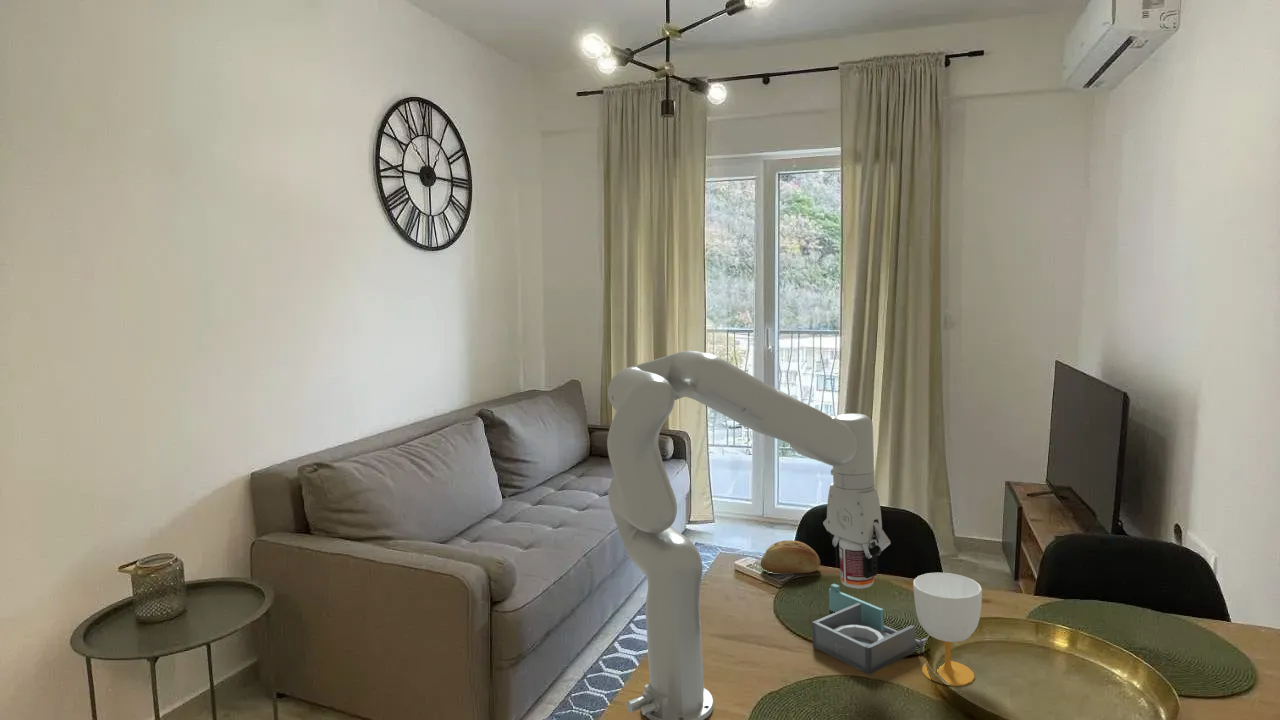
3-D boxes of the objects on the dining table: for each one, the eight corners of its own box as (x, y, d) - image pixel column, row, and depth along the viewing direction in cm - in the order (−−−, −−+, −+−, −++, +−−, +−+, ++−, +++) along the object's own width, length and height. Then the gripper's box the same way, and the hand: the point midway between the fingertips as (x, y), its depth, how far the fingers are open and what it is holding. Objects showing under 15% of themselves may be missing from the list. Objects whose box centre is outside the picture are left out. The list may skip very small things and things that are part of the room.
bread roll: (824, 579, 182) (823, 547, 182) (763, 581, 183) (762, 549, 182) (817, 564, 192) (816, 534, 191) (759, 566, 193) (758, 536, 192)
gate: (880, 633, 153) (879, 604, 153) (828, 610, 165) (828, 584, 164) (884, 631, 154) (883, 603, 153) (832, 609, 166) (831, 582, 165)
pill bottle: (881, 583, 141) (879, 528, 140) (858, 592, 138) (856, 535, 137) (855, 573, 147) (854, 520, 145) (833, 582, 143) (831, 527, 142)
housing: (874, 677, 137) (873, 651, 136) (809, 644, 150) (808, 620, 150) (930, 648, 146) (930, 623, 146) (864, 620, 160) (864, 597, 159)
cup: (941, 696, 130) (940, 603, 128) (901, 664, 141) (899, 578, 139) (997, 683, 133) (997, 592, 131) (953, 652, 144) (952, 568, 142)
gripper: (806, 474, 146) (809, 562, 148) (876, 493, 131) (879, 590, 133) (833, 467, 150) (836, 553, 151) (904, 484, 135) (906, 579, 137)
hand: (856, 569), depth 142 cm, fingers closed on pill bottle, 6 cm apart
